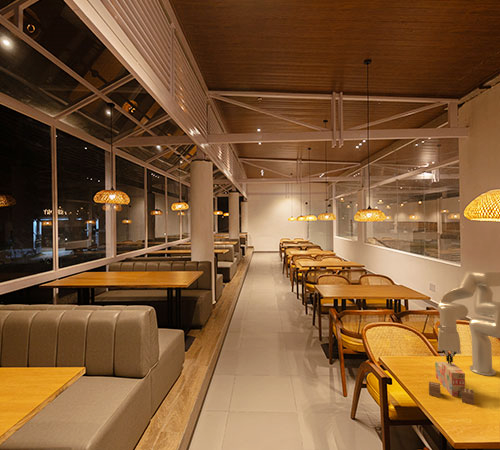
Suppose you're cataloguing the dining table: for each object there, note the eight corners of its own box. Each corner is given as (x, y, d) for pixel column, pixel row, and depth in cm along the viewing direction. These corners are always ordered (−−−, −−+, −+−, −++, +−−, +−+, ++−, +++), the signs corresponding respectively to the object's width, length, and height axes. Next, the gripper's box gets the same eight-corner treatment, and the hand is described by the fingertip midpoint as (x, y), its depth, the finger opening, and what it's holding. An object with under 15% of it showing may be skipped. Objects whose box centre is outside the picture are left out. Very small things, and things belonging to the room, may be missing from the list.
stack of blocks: (435, 377, 182) (435, 356, 183) (447, 378, 181) (446, 356, 181) (452, 396, 161) (451, 372, 162) (465, 397, 160) (465, 372, 160)
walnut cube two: (461, 397, 160) (460, 387, 160) (473, 400, 157) (473, 389, 158) (461, 402, 156) (461, 391, 156) (474, 404, 153) (473, 394, 153)
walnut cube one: (429, 390, 167) (429, 381, 167) (440, 393, 165) (440, 383, 165) (429, 395, 163) (428, 384, 163) (440, 397, 160) (440, 387, 161)
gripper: (432, 328, 172) (433, 362, 172) (465, 332, 164) (467, 368, 164) (432, 325, 178) (433, 357, 178) (464, 328, 171) (465, 363, 170)
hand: (449, 362), depth 171 cm, fingers closed
